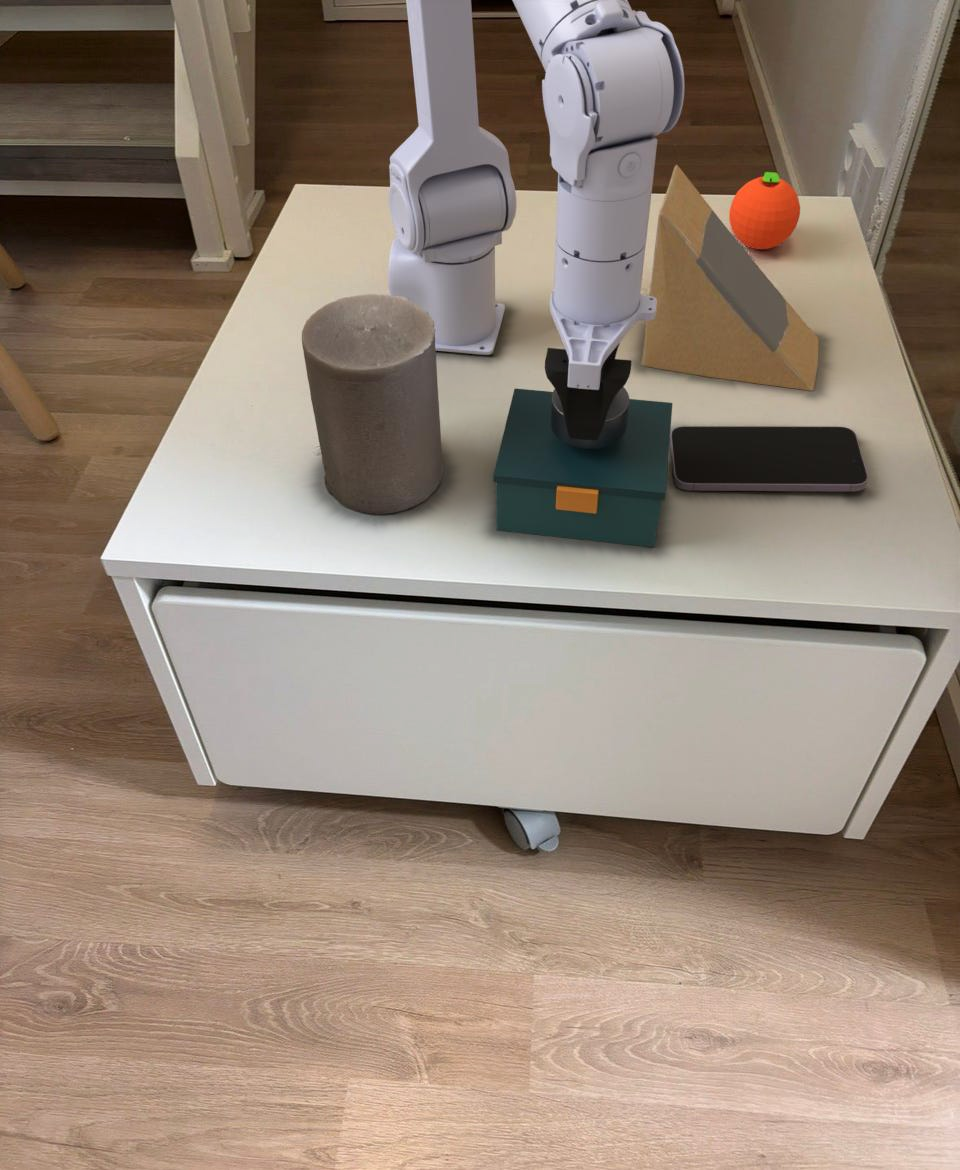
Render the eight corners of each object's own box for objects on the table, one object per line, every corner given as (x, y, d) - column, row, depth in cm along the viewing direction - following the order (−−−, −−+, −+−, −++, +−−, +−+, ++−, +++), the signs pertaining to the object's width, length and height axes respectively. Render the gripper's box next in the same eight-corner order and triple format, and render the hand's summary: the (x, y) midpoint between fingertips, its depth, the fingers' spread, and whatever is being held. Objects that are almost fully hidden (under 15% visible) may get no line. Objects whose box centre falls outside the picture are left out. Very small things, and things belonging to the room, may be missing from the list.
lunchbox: (492, 535, 78) (492, 478, 74) (514, 441, 86) (515, 385, 81) (656, 553, 77) (665, 496, 72) (664, 456, 84) (672, 399, 80)
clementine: (726, 220, 109) (737, 154, 104) (792, 225, 108) (807, 160, 103) (722, 259, 104) (734, 192, 99) (792, 265, 103) (807, 198, 98)
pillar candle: (304, 499, 81) (272, 339, 70) (356, 425, 87) (334, 267, 76) (417, 527, 79) (402, 366, 68) (462, 449, 85) (455, 289, 74)
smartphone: (669, 425, 85) (854, 425, 84) (668, 435, 86) (851, 436, 85) (675, 484, 81) (871, 485, 79) (673, 494, 81) (867, 496, 80)
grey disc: (546, 445, 74) (547, 418, 73) (555, 398, 78) (556, 371, 76) (623, 452, 74) (626, 425, 72) (629, 404, 77) (632, 377, 75)
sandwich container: (814, 393, 89) (858, 234, 78) (640, 367, 92) (658, 210, 81) (820, 337, 95) (862, 181, 84) (655, 315, 98) (674, 161, 87)
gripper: (657, 307, 59) (635, 481, 70) (670, 188, 69) (649, 356, 79) (537, 297, 60) (532, 471, 70) (566, 181, 70) (558, 348, 80)
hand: (587, 410), depth 75 cm, fingers closed on grey disc, 5 cm apart
